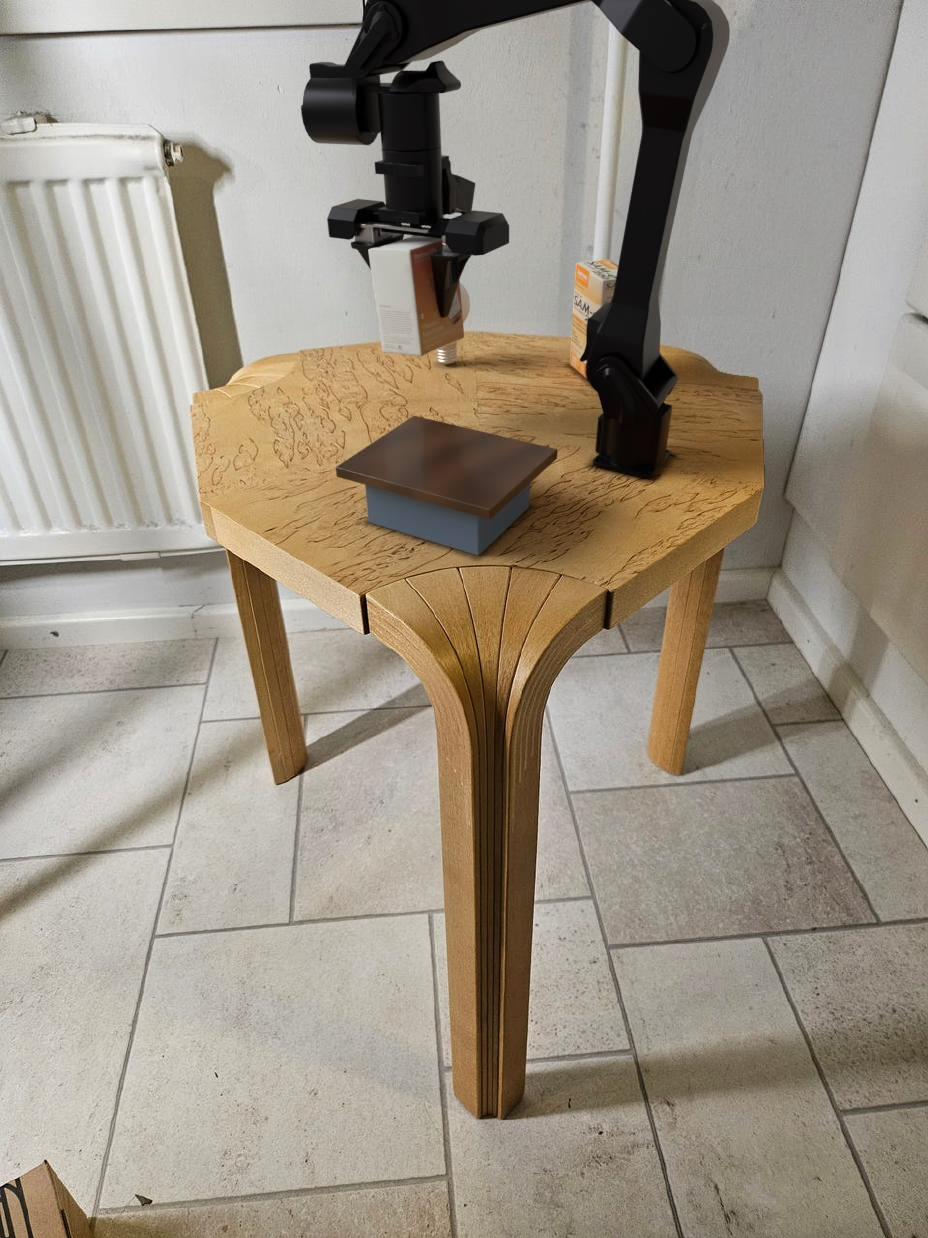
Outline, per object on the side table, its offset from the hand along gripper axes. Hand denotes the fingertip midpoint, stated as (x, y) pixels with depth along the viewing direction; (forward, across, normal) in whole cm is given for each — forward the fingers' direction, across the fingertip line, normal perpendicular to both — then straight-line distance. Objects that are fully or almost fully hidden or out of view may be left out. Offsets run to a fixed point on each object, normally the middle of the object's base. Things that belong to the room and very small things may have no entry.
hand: (420, 312), depth 91 cm
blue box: (+13, -13, +16) cm, 25 cm away
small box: (+4, 0, 0) cm, 4 cm away
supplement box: (+13, -11, -24) cm, 29 cm away
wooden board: (+8, -13, +16) cm, 22 cm away
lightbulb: (+13, +8, -17) cm, 23 cm away
